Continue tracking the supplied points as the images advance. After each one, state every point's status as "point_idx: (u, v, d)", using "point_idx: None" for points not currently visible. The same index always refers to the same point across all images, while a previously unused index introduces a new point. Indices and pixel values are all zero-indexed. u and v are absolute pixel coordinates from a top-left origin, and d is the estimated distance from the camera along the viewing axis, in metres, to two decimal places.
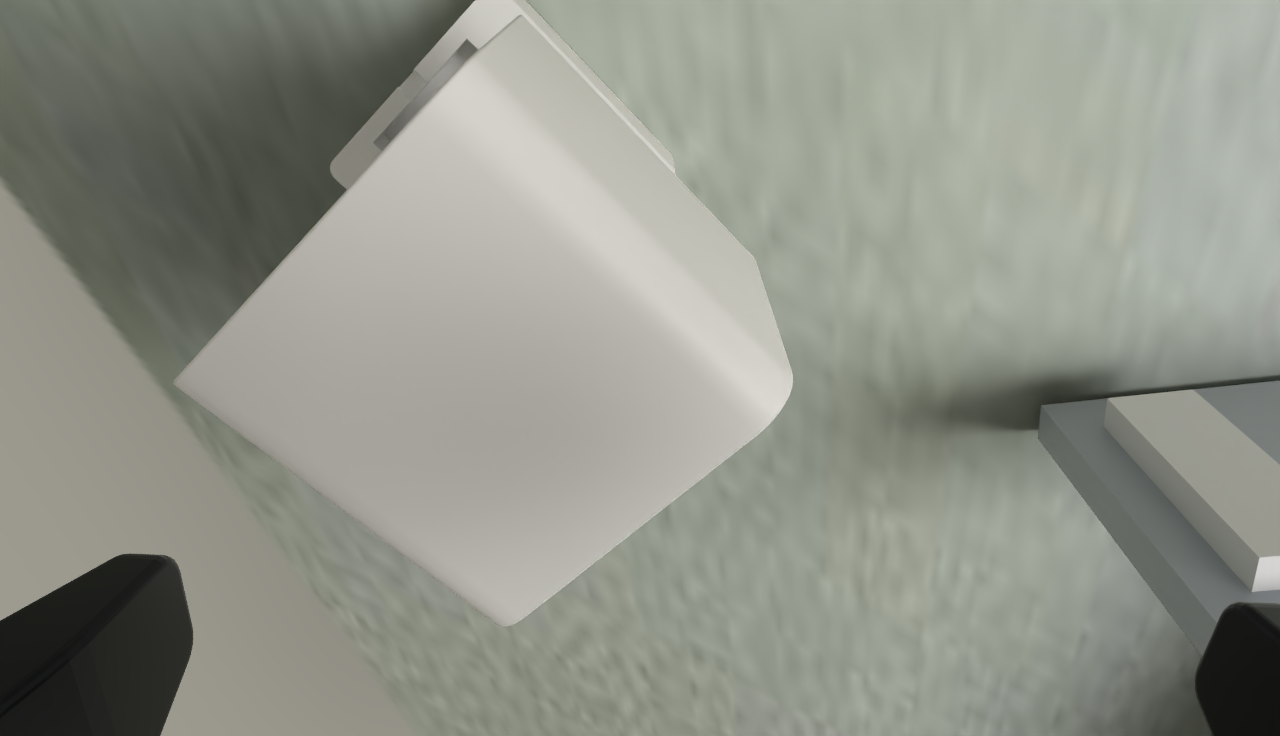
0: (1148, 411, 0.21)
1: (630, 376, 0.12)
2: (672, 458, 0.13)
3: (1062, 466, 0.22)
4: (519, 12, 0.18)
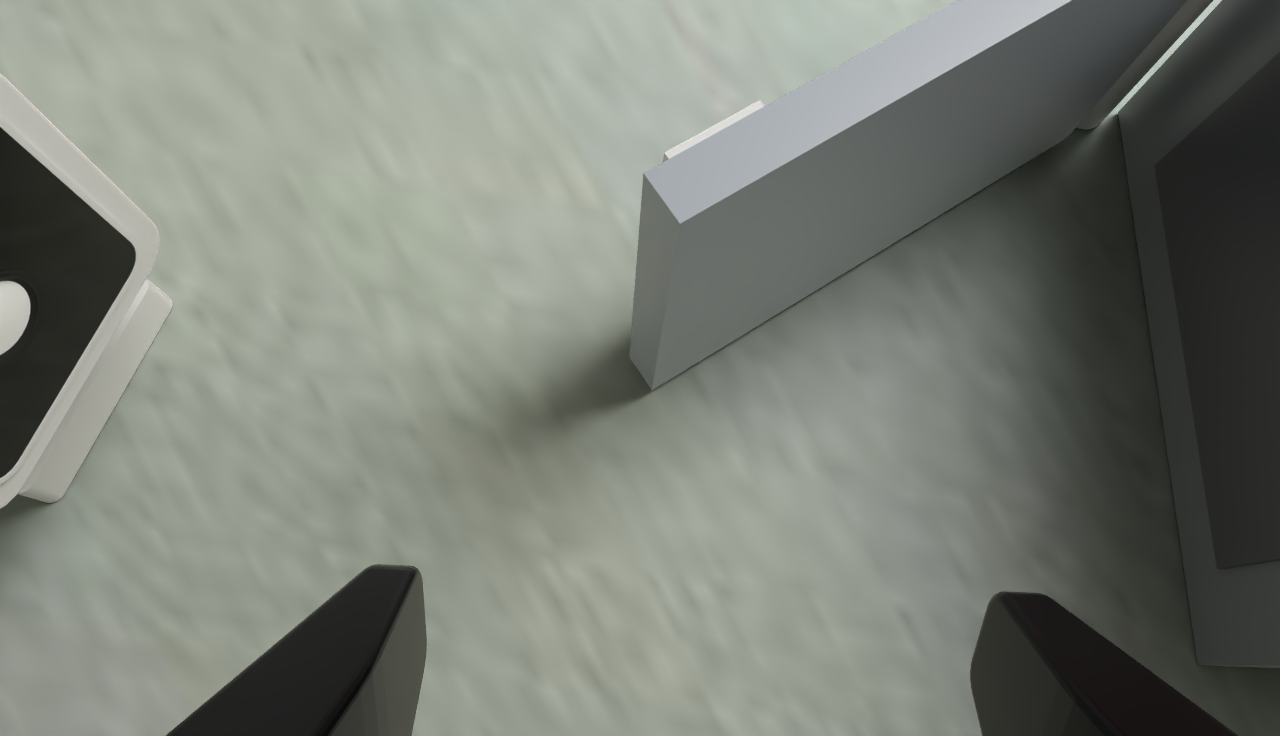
0: None
1: None
2: None
3: (652, 367, 0.20)
4: None
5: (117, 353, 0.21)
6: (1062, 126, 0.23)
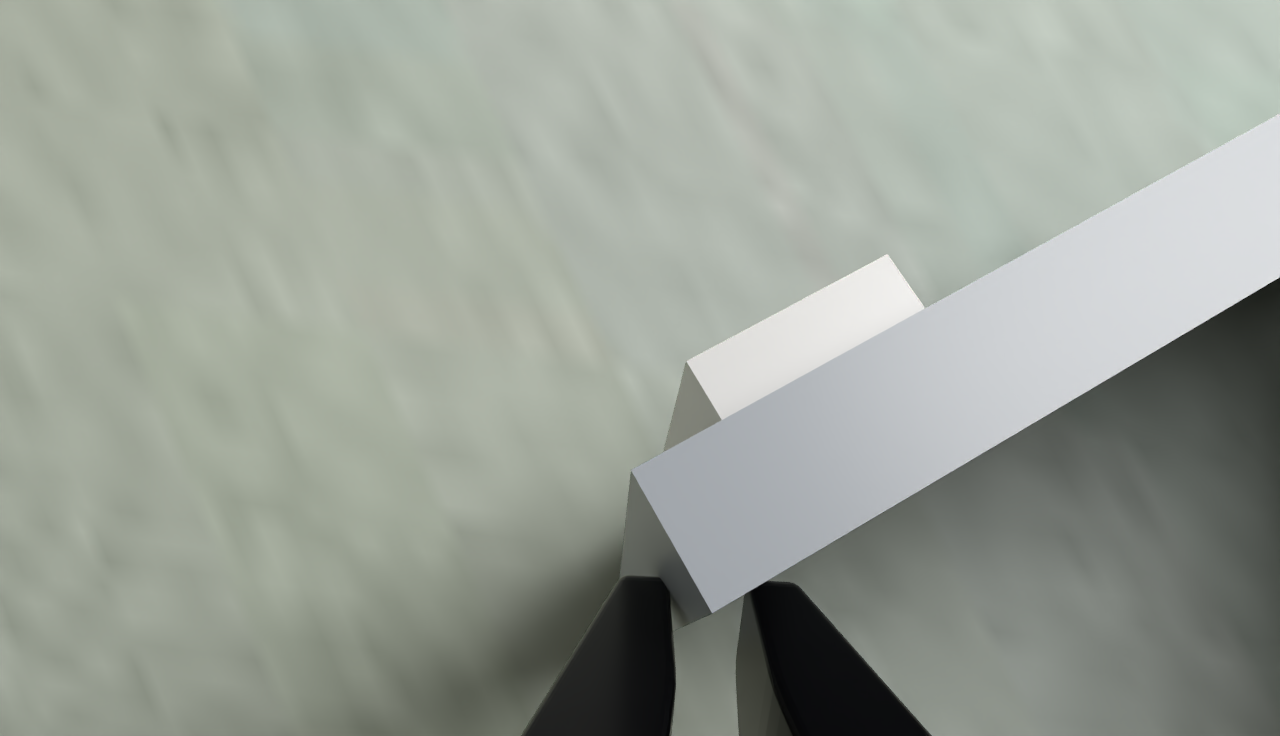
0: None
1: None
2: None
3: None
4: None
5: None
6: None
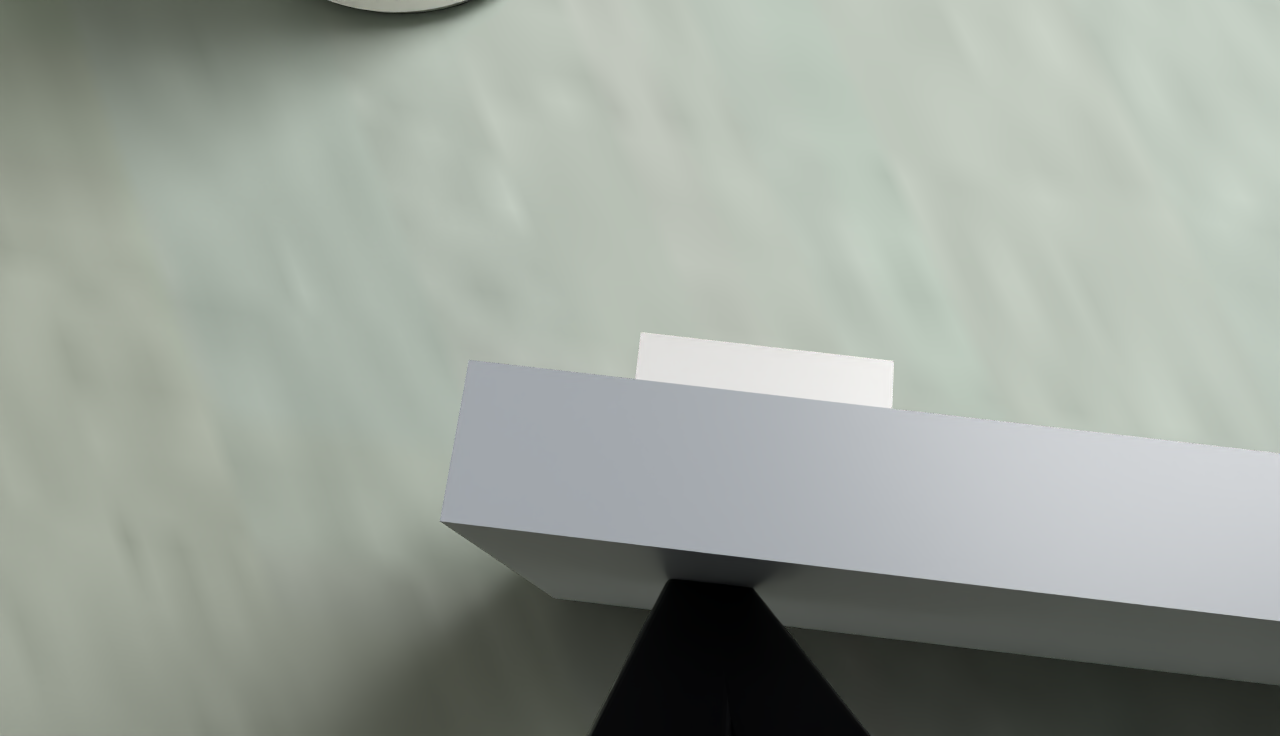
0: None
1: None
2: None
3: None
4: None
5: None
6: None
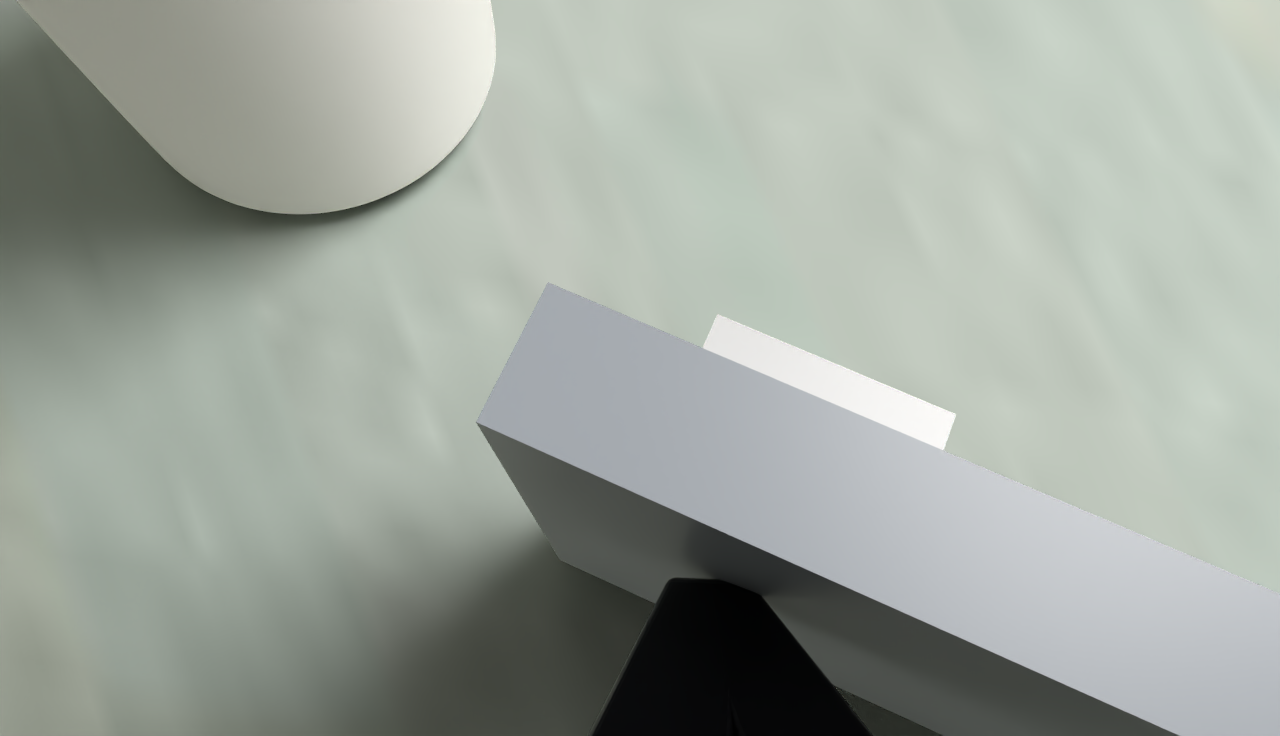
0: None
1: None
2: None
3: None
4: None
5: None
6: None
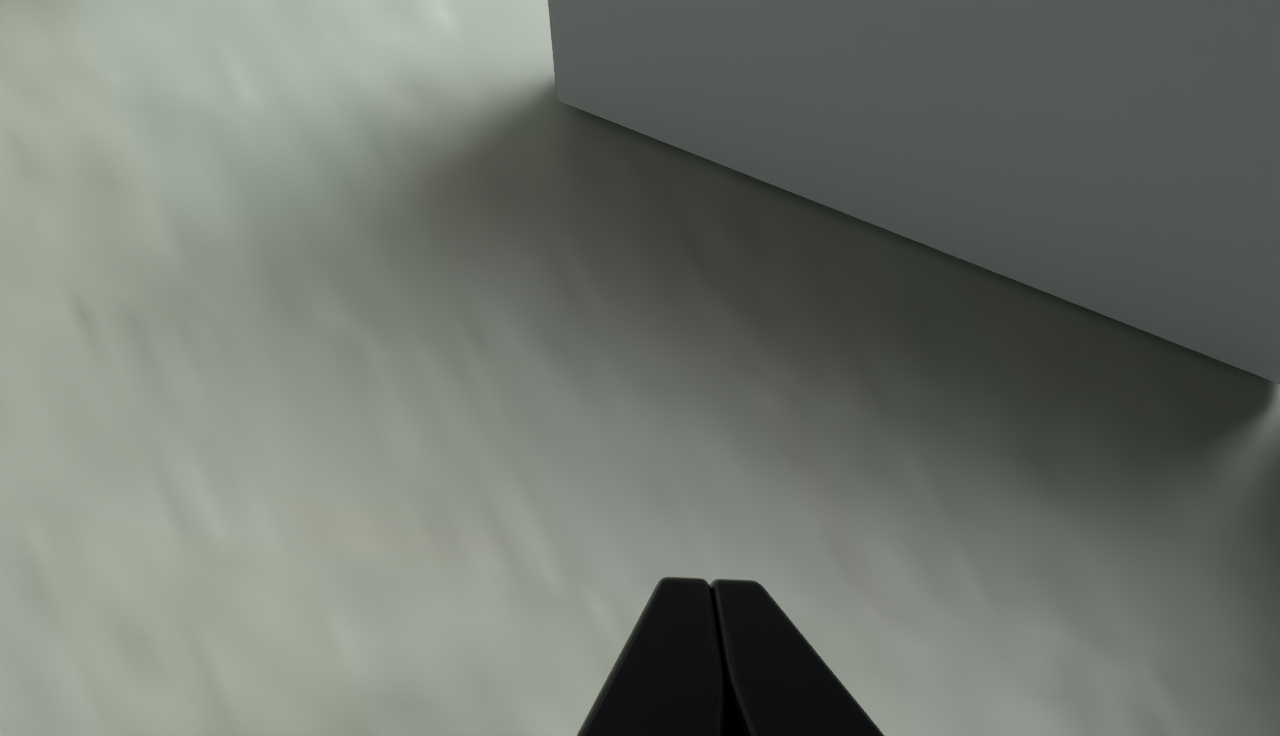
0: None
1: None
2: None
3: None
4: None
5: None
6: None
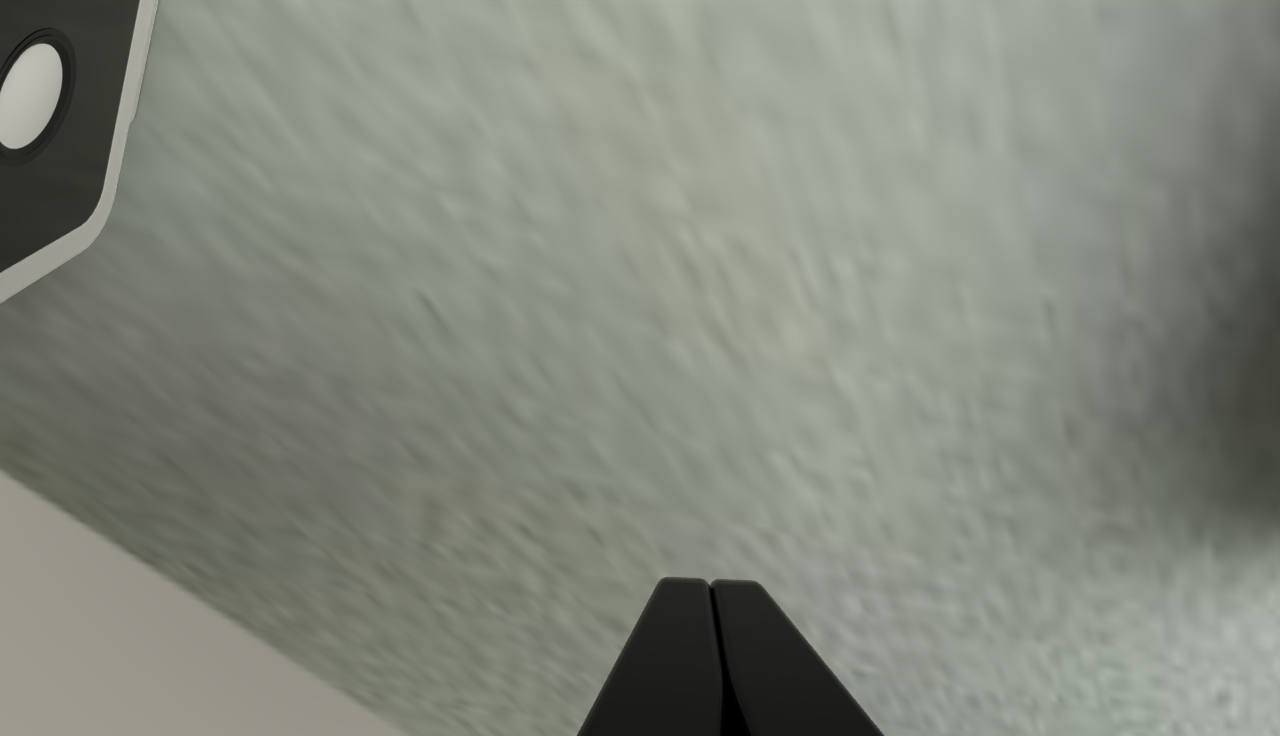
0: None
1: None
2: None
3: None
4: None
5: None
6: None
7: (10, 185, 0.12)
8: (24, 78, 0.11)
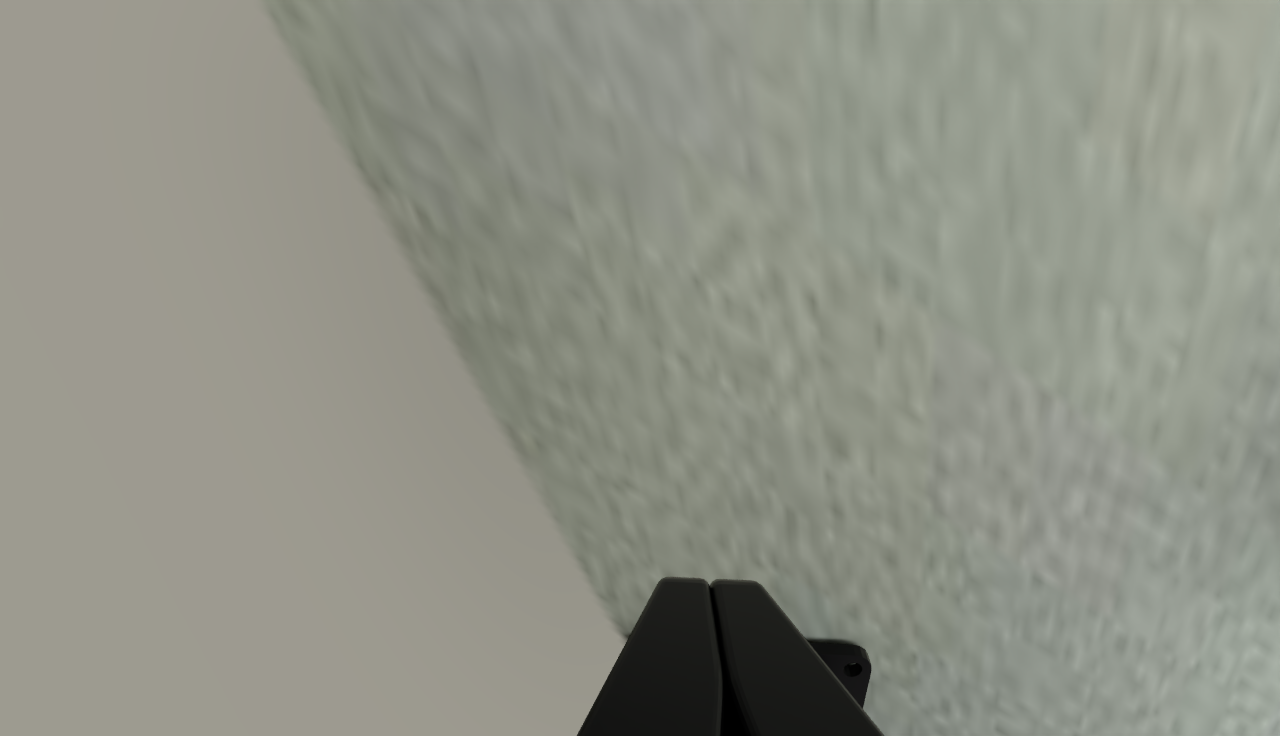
0: None
1: None
2: None
3: None
4: None
5: None
6: None
7: None
8: None
